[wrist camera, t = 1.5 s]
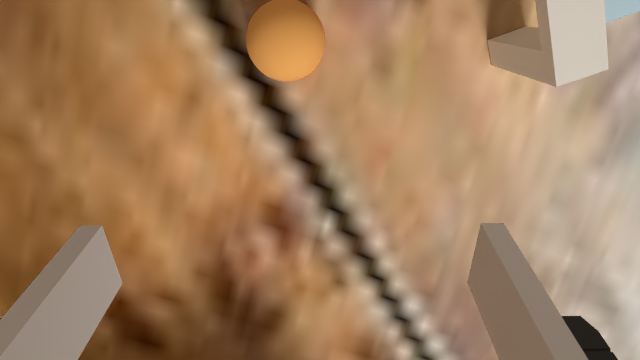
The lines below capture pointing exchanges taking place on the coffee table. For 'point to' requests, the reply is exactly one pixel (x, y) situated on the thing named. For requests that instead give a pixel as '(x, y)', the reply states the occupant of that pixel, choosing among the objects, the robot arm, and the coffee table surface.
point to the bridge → (556, 43)
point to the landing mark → (620, 8)
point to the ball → (285, 39)
